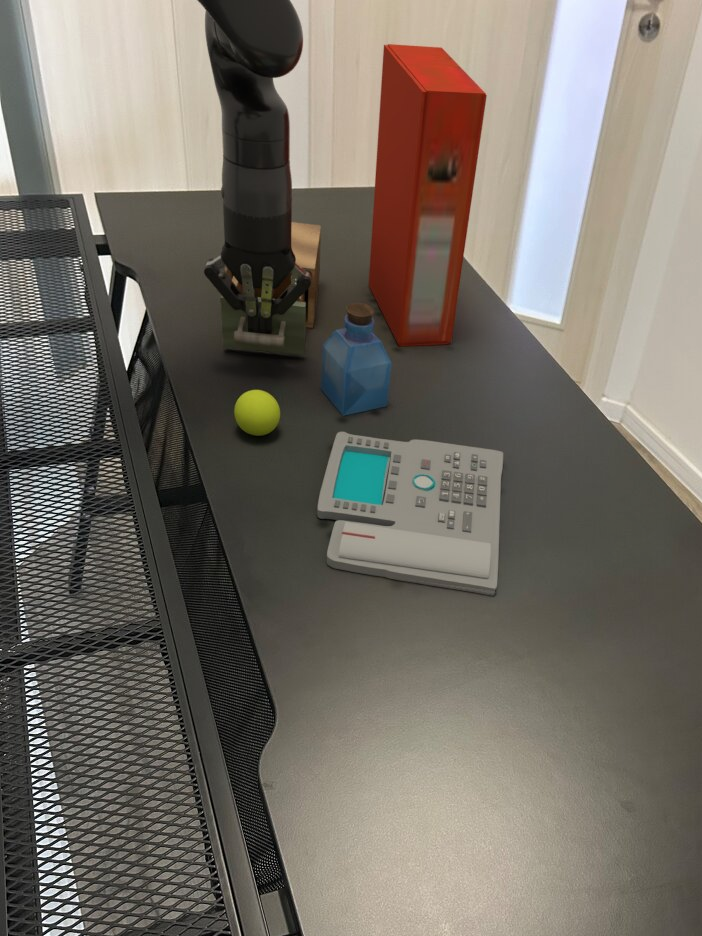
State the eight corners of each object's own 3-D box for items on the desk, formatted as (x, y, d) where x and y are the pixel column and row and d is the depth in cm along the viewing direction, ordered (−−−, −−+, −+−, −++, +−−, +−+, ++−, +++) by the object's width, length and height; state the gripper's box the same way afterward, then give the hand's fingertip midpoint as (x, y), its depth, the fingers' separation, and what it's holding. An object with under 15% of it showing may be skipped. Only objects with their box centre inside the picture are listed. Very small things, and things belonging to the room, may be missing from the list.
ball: (232, 442, 98) (230, 404, 95) (238, 416, 102) (236, 378, 98) (278, 446, 99) (277, 408, 95) (282, 420, 103) (282, 383, 99)
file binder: (395, 346, 118) (422, 89, 95) (366, 286, 129) (384, 43, 106) (450, 344, 121) (489, 93, 98) (417, 285, 132) (445, 47, 109)
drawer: (301, 376, 108) (302, 327, 103) (217, 368, 107) (214, 318, 102) (310, 308, 120) (311, 262, 115) (235, 300, 119) (233, 252, 114)
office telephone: (501, 579, 85) (302, 551, 84) (496, 597, 87) (302, 569, 86) (505, 442, 101) (338, 416, 100) (501, 459, 103) (337, 434, 102)
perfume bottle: (386, 406, 108) (396, 318, 99) (343, 415, 105) (348, 326, 96) (364, 380, 111) (371, 293, 103) (321, 389, 108) (324, 300, 100)
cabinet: (313, 328, 118) (314, 268, 112) (227, 319, 117) (224, 258, 111) (319, 282, 128) (321, 225, 122) (240, 273, 126) (238, 215, 120)
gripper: (319, 193, 98) (315, 331, 110) (201, 178, 96) (210, 320, 109) (315, 221, 93) (311, 361, 105) (190, 205, 91) (201, 350, 104)
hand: (260, 340), depth 107 cm, fingers closed
